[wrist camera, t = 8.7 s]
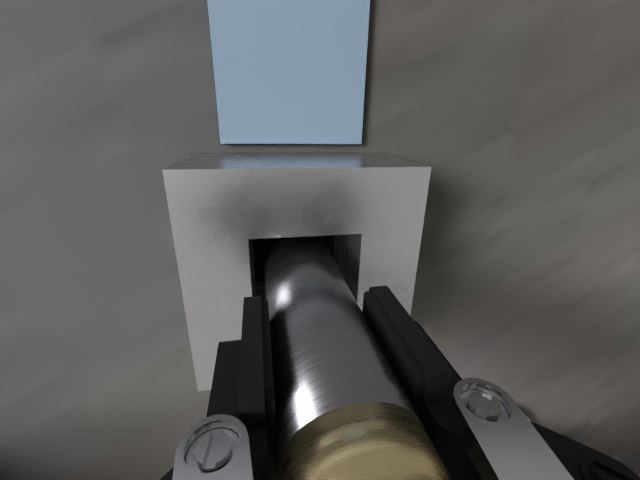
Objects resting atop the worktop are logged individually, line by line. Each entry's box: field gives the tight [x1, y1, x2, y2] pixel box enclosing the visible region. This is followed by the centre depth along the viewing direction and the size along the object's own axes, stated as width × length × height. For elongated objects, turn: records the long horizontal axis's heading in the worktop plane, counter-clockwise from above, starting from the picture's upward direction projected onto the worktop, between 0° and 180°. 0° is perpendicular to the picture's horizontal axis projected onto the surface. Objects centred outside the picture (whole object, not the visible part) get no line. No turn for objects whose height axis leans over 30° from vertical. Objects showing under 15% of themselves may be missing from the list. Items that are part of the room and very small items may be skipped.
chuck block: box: [163, 153, 431, 391], centre depth 16 cm, size 10×10×5 cm
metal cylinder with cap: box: [263, 236, 452, 480], centre depth 11 cm, size 3×3×12 cm
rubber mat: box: [207, 0, 370, 144], centre depth 15 cm, size 7×7×1 cm
